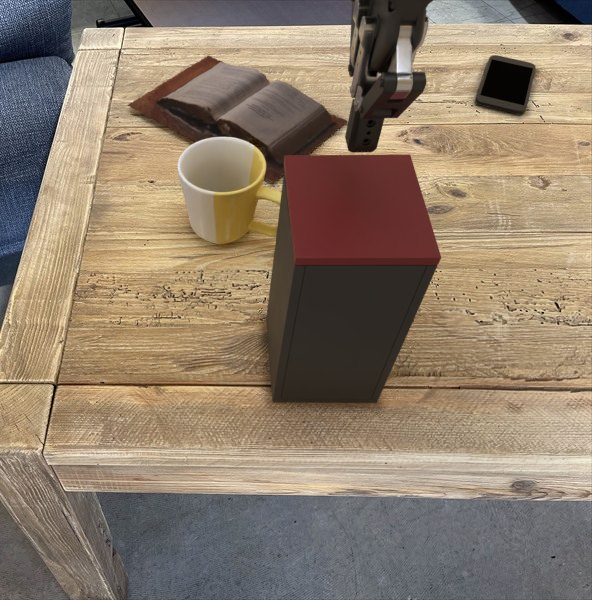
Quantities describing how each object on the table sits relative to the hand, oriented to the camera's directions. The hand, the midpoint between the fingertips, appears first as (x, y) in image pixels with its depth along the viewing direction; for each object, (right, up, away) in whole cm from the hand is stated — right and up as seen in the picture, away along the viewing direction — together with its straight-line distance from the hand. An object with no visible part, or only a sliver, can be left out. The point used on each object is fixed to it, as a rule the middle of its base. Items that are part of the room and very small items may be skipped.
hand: (359, 146), depth 46 cm
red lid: (0, -5, +2) cm, 5 cm away
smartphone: (+37, +22, +49) cm, 65 cm away
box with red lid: (+1, -18, +18) cm, 26 cm away
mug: (-8, -4, +30) cm, 31 cm away
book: (-6, +16, +46) cm, 49 cm away
